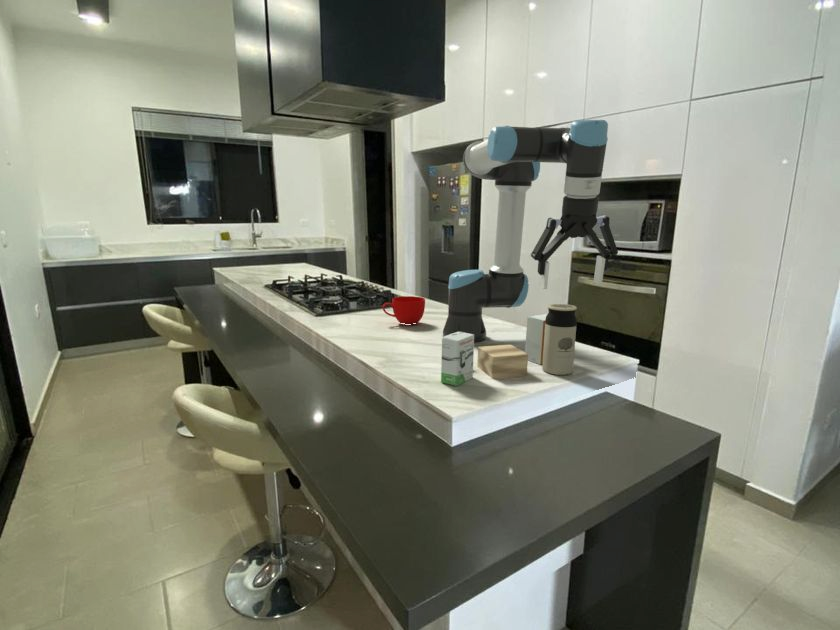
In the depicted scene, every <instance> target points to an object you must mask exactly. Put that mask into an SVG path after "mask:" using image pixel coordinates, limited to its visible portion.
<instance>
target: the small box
mask: <svg viewBox="0 0 840 630" xmlns="http://www.w3.org/2000/svg"><path fill="white" fill-rule="evenodd" d="M547 314H548V313H544V314H535V315H532V316H527V317H526V332H525V333H526V334H525V348H524V352H525V353H526V354H528V361H529V362H532V363H535V364H538V365H543V351H544V335H545V320H546V316H547Z"/></svg>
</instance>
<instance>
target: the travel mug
mask: <svg viewBox="0 0 840 630" xmlns="http://www.w3.org/2000/svg"><path fill="white" fill-rule="evenodd" d="M547 309H548V313H546V314H547V316H546V320H545V335H544V351H543V364H542V366H541V368H542V369H541V370H542V371H544V372H545V373H548V374H551V375H554V374H555V375H556V376H568V375H570V374H572V373H574V360H575V348H576V336H577V335H576V332H577V325H578V319H577V316H576V310H577V309H578V307H577V306H576V305H572V304H566V303H550V304H547ZM567 374H568V375H567Z"/></svg>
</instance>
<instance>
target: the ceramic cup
mask: <svg viewBox="0 0 840 630" xmlns="http://www.w3.org/2000/svg"><path fill="white" fill-rule="evenodd" d="M387 305H388V306H391V308H392V313H393V314H392V313H389V312H388V311H386V309H385V307H386V306H387ZM425 308H426V298H424V297H420V296H412V295H411V296H409V295H408V296H407V295H406V296H396V297H393V298H392V299H391V302H385V303H383V305H382V310H383V312H384V314H386V315H387V316H389V317H394V318H395V319H396V320H397V322H398V323H399V322H400V323H405V324H413V323H417V324H418V323H419V322H420V321H421V319H422V318H423V316H424V313H425Z"/></svg>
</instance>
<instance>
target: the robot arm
mask: <svg viewBox="0 0 840 630" xmlns="http://www.w3.org/2000/svg"><path fill="white" fill-rule="evenodd" d="M608 130H609V123H608V122H607V121H606V120H605V119H577V120H574V121H572V123H571V125H570V127H527V126H510V125H503V126H493V128H492V129H491V130H490V133H489V134H488V139H486V140H475V141H474V142H472V143H471V144H469V145H468V146H467V147H466V148H465V150H464V152H463V156H462V162H463V166H464V168H465V170H466V171H467V172H468V173H469V174H470V175H471V176H473V177H476V178H478V179H481V180H490V181H494V187H495V188H496V189H497V190H498V201H497V202H498V204H497V217H496V219H497V220H496V231H495V246H494V248H495V249H494V259H493V261H494V262H493V263H492V265H490V267H489V269H488V273H485V272H484V271H483V270H482V269H467V270H461V271H460V270H459V271H456V272H453V273H452V274H450V276H449V279H448V286H447V288H448V305H447V307H448V311H447V312H448V313H447V318H446V321H445V324H444V326H443V330H442V338H443V337H444V336H446V335H450V334H453V333H456V332H464V333H469V334H474V343H478V342H482V341H485V340H486V339H487V329H486V326H485V323H484V319H483V309H485V308H489V309H490V308H507V309H510V308H517V307H520V306H522V305H523V304H524V303H525V301H526V299H527V296H528V293H529V285H530V284H529V278H528V276H527V274H526V273H524V268H523V267H522V266H521V265H520V263H521V253H522V251H521V250H522V241H523V229H524V228H523V227H524V218H525V208H526V196H527V192H528V190H530V189H531V187H532V185H533V184H532V183H533V182H534V181H536V180H538V178H539V176H540V175H539V174H540V171H541V163H555V164H556V163H557V164H558V163H559V164H566V170H565V179H564V185H563V186H564V187H563V194H564V196H563V197H562V208H561V217H560V218H558V219H557V218H556V219H555V218H553V217H548V218H547V220H546V224H545V225H546V226H545V228H544V230H543V232H542V234H541V235H540V238H539V239H538V241H537V243H535V246H534V247H533V250H532V251H531V253H530V257H531V258H532V259H533V260H534V261H538V262H537V274H539V276H540V281H539V285H540V287H541V288H542V289H544V290H548V285H549V284H548V283H549V282H548V281H549V273H550V261H548V260H550V259H549V258H551V256H552V255H554V253H555V252H556V251H557V250H558V249H559V248H560V246H561V245H563V243H564V242H565V241H568V239H569V238H571V239H576V238H585V237H587V238H588V239H589V240H590V241H591V243H592V245H593V246H594V248H595V249H596V250H597V251H598V253H599V255H596V260H595V269H594V276H593V282H594V283H596V284H597V285H598V286H602V284H603V278H604V273H605V271H607V270H608V266H609V260H611V259H612V258H613V256H616V255H618V253H619V250H618V248H617V244H616V241H615V239H614V236H613V233H612V231H611V227H610V217H609V216H607V215H605V214H601V215H599V216H597V212H598V207H599V200H600V198H599V196H598V195H599V194H600V191H601V185H602V184H601V183H602V177H603V176H602V174H603V170H604V169H603V168H604V163H605V157H606V152H607V151H606V150H607V143H608ZM596 225H598V226H599V229H600V233H601V235H602V238H603V240H604V243H605V245H604V244H603V242H602V241H601V240H600V238H599V237H598V235H597V233H596V232H595V230H594V229H593V228H594V227H595V226H596ZM559 226H560V229H559V231H557V233H556V236H554V238H553V239H552V237H553V235H554V233H555V230H556V229H558V227H559ZM551 239H552V240H551ZM550 240H551V241H550ZM605 246H606V247H605Z"/></svg>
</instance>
